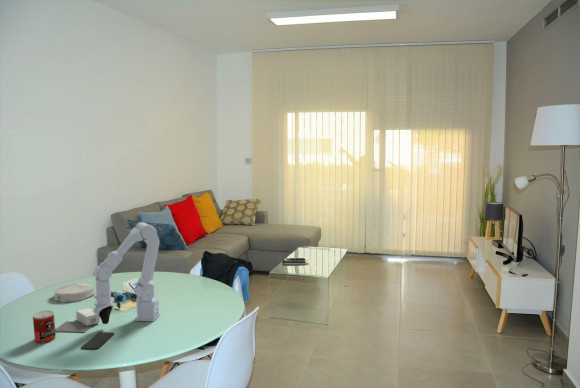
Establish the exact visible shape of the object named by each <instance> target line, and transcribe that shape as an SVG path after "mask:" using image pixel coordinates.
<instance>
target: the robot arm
mask: <svg viewBox="0 0 580 388" xmlns="http://www.w3.org/2000/svg"><path fill="white" fill-rule="evenodd" d="M158 235H159V234H158V230H157V229H156V228H155V227H154V226H153V225H152V224H148V223H146V222H143V221H141V222H137V223H136V225H135V226H134V227H133V228H132V229H131V230H130V232H129V234H128V235H127V236H126V237H125V239H124V240H123V241H122V242H121V244H120V245H119V246H118V248H117V249H116V250H114V251H111V252H108V253H107V255H106V256H107V257H106V258H105V259H104V261H102V262H100V264H99V266H98V265H97V266H96V267H95V269H94V270H93V274H92V275H93V276H94V277H95V291H96V292H95V293H96V294H95V295H96V302H94V306H95V308H93V310H94V314H99V316H100V320H101V321H100V322H101V324H103V325H107V324H109V322H110V317H111V314H112V313H111V312H112V310H113V308H114V307H113V303H114V302H115V297H114V296H111V295H112V293H111V292H112V291H111V282H110V281H111V280H110V279H111V278H112V273H113V271H114V270H115V269H116V268H117V267H118V266H119V264H121V262H122V261H123V255H125V253H127V252H128V251H129V250H130V248H131V247H132V246H133V245H134V244H135V243H136V242H141V241H144V242H145V243H146V249H145V254H144V258H143V262H142V263H143V265H142V268H141V274H140V278H138V280H137V282H136V285H135V286H134V289H133V292H134V294H135V296H136V299H135V300H136V317H135V318H134V319H133V321H134V322H154V321H156V319H157V318H158V317H159V316H160V315H161V314H160V302H159V300H158V299H157V298H156V299H155V298H154V297H155V289H154V288H155V283H154V281H153V278H154V273H155V269H156V263H157V258H158V255H159V254H158V253H159V248H160V238H159V236H158Z"/></svg>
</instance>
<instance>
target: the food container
mask: <svg viewBox="0 0 580 388" xmlns="http://www.w3.org/2000/svg"><path fill="white" fill-rule="evenodd" d="M94 289H95V287H93V285H90V284H87V283H72V284H67V285H64V286H59V287H58V288H56V289H55V290H54V291H53V292H54V297H53V299H54V301H55V302H60V303H67V302H77V301H78V302H79V301H82V300H85V299H88V298H90V297H91V296H93V295H95V293H96V292H95V291H96V290H94Z"/></svg>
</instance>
